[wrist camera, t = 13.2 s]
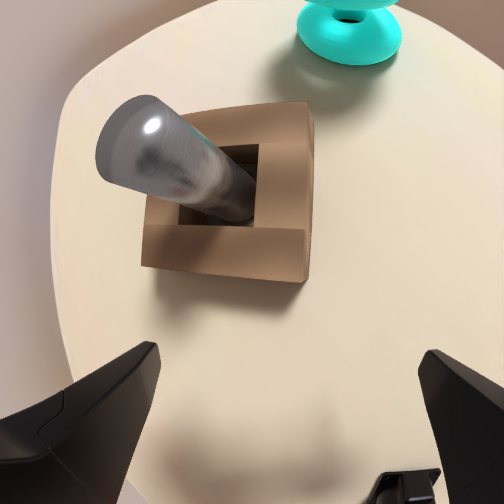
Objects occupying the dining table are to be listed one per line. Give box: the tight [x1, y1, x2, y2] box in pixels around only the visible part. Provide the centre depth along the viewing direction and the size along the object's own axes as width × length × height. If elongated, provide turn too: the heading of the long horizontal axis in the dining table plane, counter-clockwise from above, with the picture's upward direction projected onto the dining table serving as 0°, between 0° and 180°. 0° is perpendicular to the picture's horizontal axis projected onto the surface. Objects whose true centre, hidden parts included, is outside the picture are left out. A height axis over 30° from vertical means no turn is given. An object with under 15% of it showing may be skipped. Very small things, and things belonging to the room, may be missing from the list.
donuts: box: [297, 0, 402, 65], centre depth 15 cm, size 10×10×10 cm
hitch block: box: [141, 101, 314, 283], centre depth 20 cm, size 12×12×4 cm
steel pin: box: [95, 95, 257, 222], centre depth 16 cm, size 4×4×13 cm
